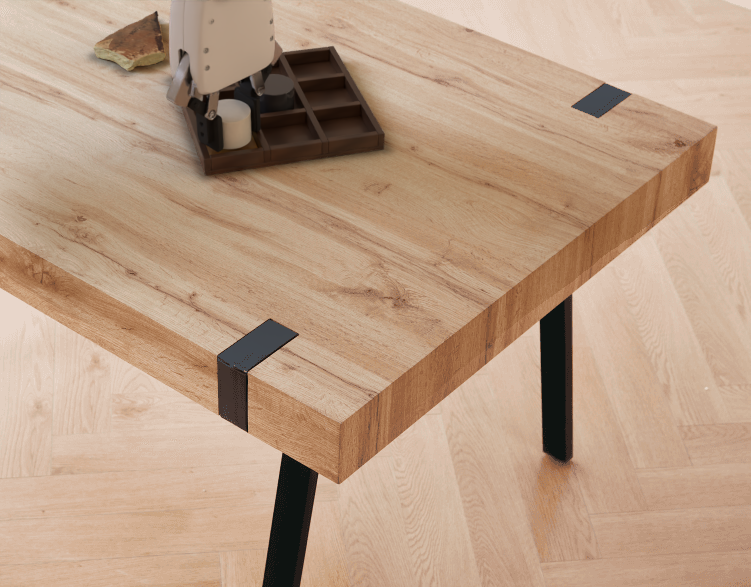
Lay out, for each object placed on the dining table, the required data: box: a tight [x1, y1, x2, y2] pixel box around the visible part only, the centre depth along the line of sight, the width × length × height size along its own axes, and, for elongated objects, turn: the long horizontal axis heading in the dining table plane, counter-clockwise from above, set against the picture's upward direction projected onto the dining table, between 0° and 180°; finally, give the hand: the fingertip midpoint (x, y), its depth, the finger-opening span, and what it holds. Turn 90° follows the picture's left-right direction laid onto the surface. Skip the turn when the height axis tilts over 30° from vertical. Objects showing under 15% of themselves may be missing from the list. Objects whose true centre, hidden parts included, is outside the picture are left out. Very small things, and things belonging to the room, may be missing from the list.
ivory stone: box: [217, 99, 252, 149], centre depth 109 cm, size 4×4×3 cm
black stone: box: [260, 74, 294, 114], centre depth 116 cm, size 4×4×3 cm
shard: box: [93, 10, 167, 72], centre depth 126 cm, size 11×8×2 cm
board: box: [171, 45, 386, 176], centre depth 117 cm, size 19×19×2 cm
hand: (229, 134), depth 110 cm, fingers closed on ivory stone, 4 cm apart
